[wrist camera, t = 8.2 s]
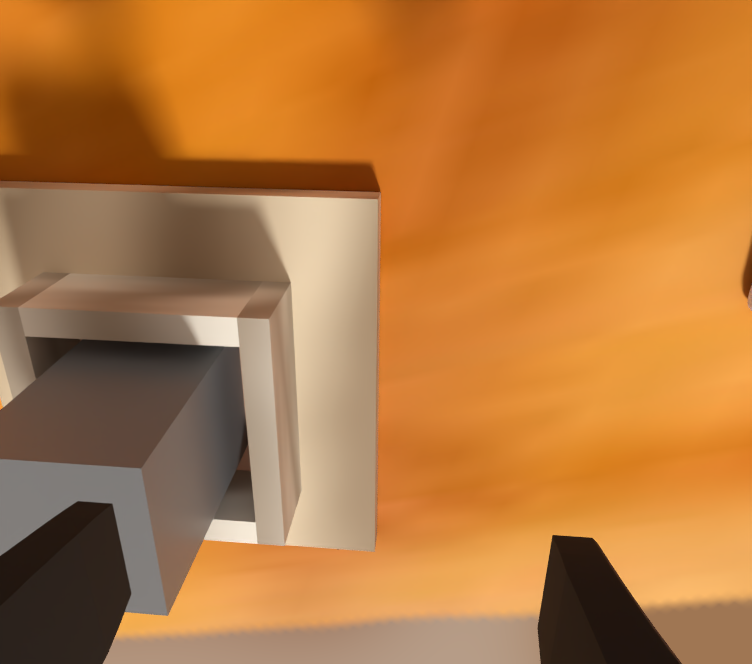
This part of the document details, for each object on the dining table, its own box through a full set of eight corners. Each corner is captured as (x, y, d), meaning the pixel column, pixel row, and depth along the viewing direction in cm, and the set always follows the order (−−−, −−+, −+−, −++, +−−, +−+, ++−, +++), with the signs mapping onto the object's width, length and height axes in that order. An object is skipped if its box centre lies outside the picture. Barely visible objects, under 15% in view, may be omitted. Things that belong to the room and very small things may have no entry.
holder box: (380, 192, 17) (367, 225, 14) (376, 535, 22) (366, 612, 19) (-40, 179, 18) (-133, 209, 15) (48, 511, 23) (-9, 580, 20)
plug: (237, 328, 18) (141, 468, 13) (247, 444, 20) (167, 615, 14) (102, 322, 19) (-52, 455, 13) (124, 436, 20) (-4, 600, 15)
